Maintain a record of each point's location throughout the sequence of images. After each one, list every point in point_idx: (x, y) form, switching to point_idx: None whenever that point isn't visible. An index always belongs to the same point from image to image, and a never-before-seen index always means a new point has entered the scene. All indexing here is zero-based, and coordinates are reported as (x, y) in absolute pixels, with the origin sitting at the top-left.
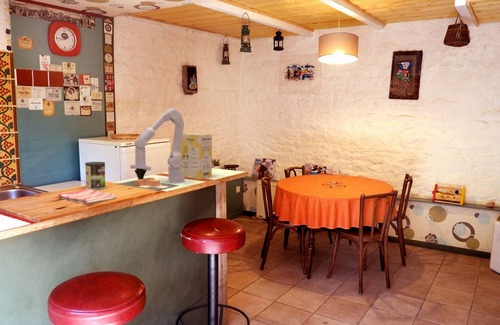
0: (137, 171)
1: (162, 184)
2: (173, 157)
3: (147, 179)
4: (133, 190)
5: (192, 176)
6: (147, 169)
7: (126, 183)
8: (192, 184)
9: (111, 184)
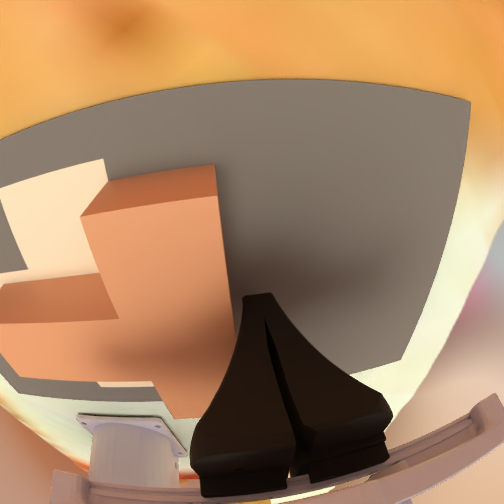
0: (298, 419)
1: None
2: None
3: (137, 357)
4: (5, 9)
5: (186, 485)
6: (77, 490)
7: (405, 192)
8: (39, 428)
9: (496, 94)
